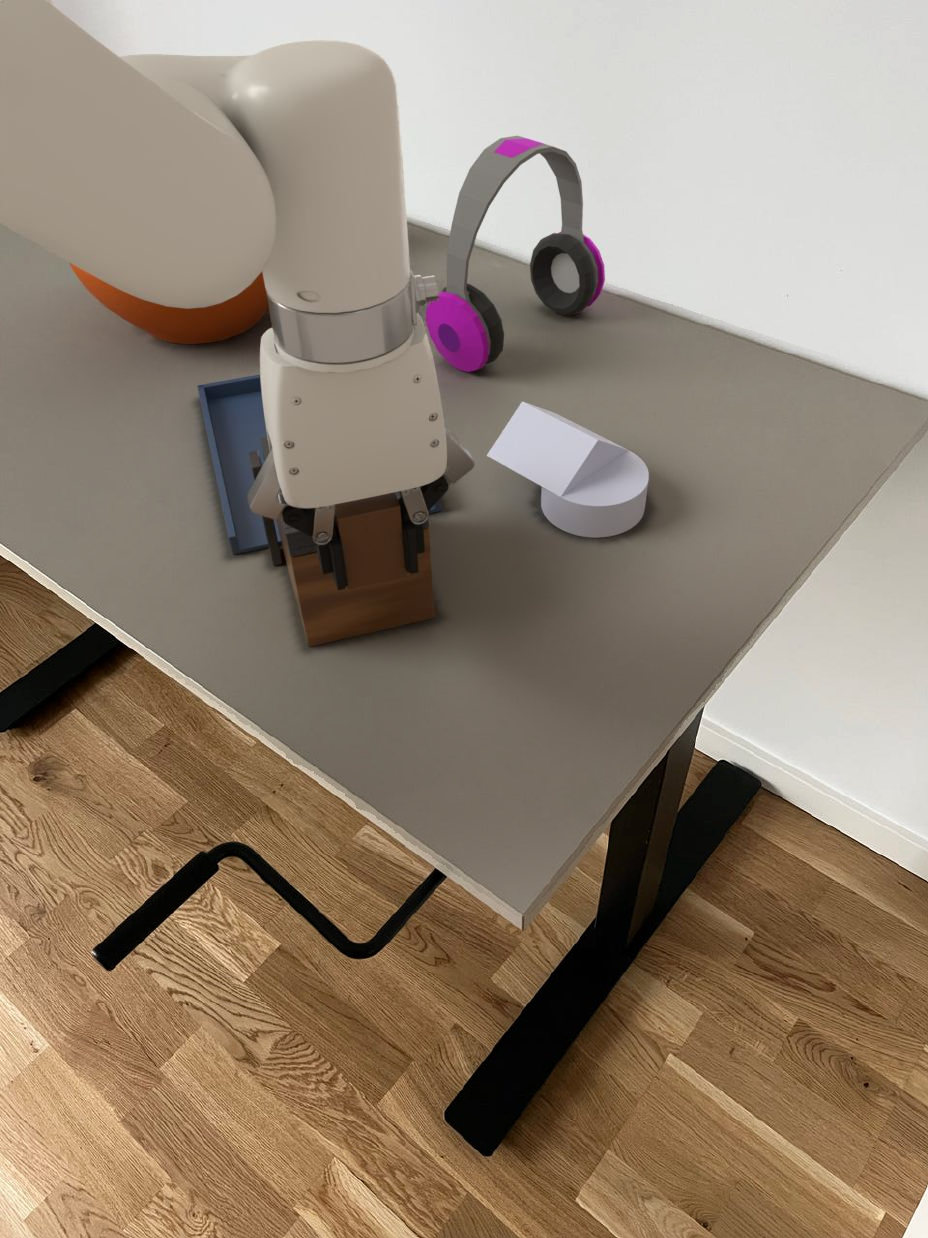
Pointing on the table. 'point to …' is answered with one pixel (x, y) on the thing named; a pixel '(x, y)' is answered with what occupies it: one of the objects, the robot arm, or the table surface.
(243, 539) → the tray
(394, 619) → the stand
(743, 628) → the table surface
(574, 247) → the headphones
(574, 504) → the wedge on round base
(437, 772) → the table surface
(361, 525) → the dark piece
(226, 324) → the bowl
